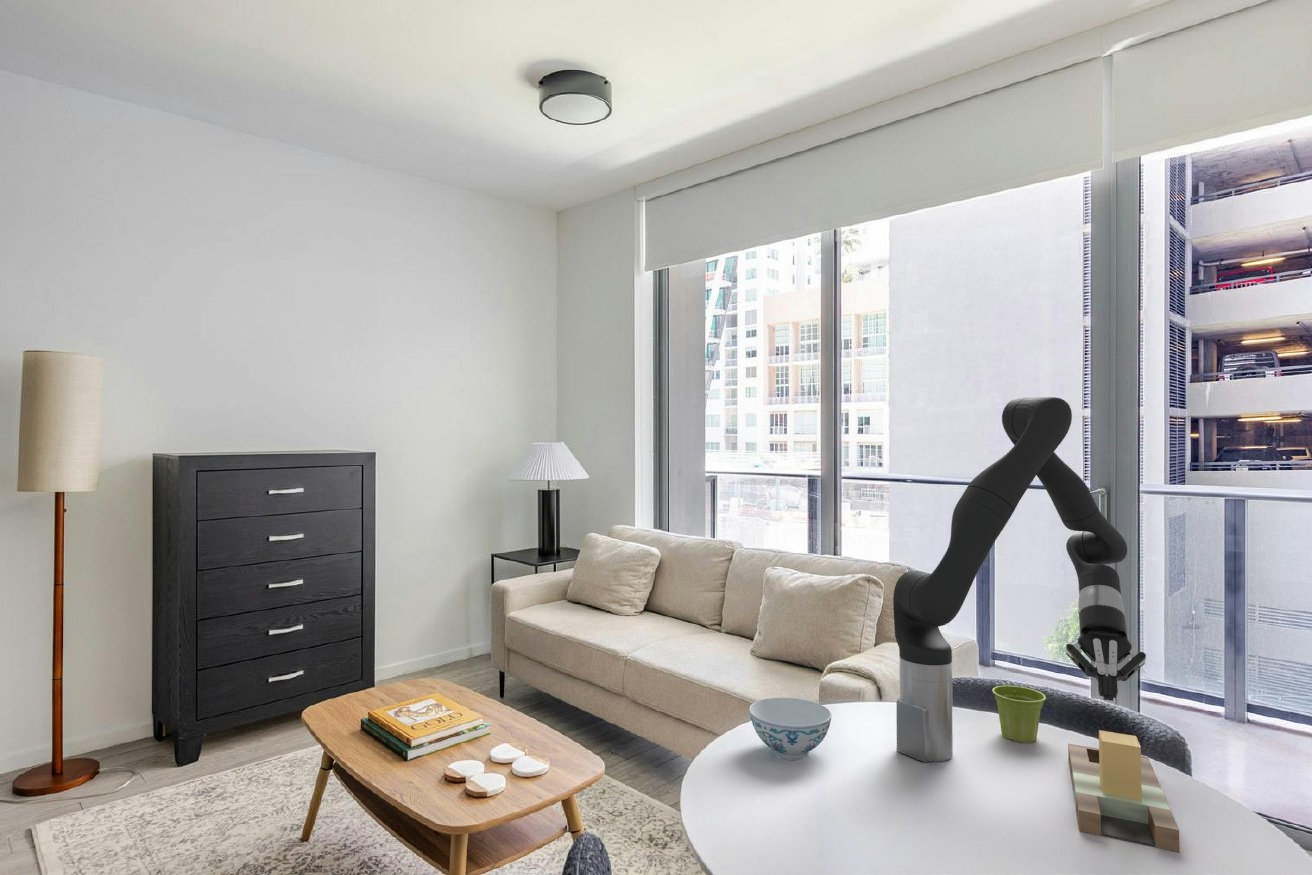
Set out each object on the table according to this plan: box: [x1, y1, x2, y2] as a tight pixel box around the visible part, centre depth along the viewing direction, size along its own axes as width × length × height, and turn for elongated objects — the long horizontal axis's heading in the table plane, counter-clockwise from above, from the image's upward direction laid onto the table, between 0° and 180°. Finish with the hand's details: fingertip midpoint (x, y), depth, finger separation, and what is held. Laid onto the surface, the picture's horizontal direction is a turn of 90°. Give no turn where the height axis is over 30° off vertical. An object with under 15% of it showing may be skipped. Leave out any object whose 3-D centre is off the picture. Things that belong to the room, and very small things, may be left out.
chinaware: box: [749, 696, 832, 761], centre depth 130 cm, size 15×15×8 cm
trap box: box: [1067, 743, 1181, 853], centre depth 113 cm, size 28×12×3 cm, turn 152°
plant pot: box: [991, 685, 1047, 744], centre depth 139 cm, size 9×9×9 cm
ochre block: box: [1098, 729, 1142, 801], centre depth 110 cm, size 5×5×8 cm
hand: (1108, 697), depth 123 cm, fingers closed
